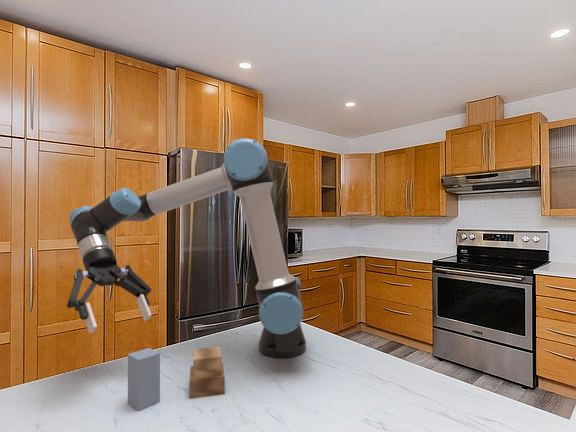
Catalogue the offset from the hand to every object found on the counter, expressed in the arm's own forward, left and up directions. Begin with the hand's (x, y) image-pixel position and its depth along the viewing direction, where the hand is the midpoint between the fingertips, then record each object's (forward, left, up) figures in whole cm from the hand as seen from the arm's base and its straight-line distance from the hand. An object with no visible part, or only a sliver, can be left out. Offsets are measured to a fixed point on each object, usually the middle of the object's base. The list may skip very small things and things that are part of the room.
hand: (122, 323), depth 82 cm
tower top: (-20, +5, -12) cm, 24 cm away
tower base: (-20, +5, -16) cm, 26 cm away
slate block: (-6, +8, -16) cm, 19 cm away
